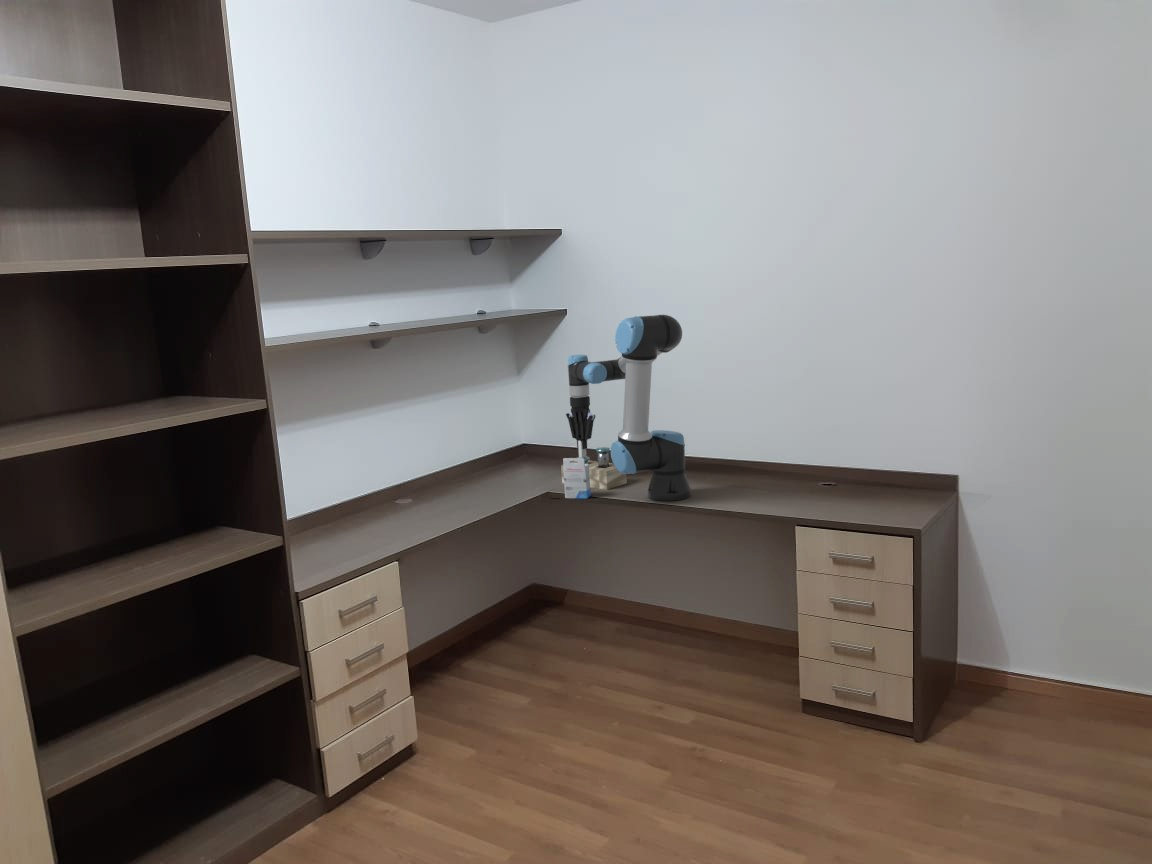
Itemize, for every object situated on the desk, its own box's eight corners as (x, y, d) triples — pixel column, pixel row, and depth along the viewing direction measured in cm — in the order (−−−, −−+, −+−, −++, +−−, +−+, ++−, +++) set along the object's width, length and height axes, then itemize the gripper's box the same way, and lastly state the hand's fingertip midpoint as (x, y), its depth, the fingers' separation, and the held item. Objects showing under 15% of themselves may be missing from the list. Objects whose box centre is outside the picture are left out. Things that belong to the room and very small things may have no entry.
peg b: (613, 468, 341) (612, 448, 340) (604, 471, 337) (603, 450, 336) (602, 467, 345) (601, 446, 343) (594, 469, 341) (593, 449, 339)
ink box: (591, 495, 327) (589, 455, 324) (587, 499, 322) (585, 458, 320) (569, 494, 330) (566, 455, 327) (564, 498, 325) (562, 458, 322)
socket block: (626, 483, 343) (626, 464, 341) (607, 489, 334) (606, 471, 332) (582, 476, 357) (581, 459, 356) (562, 483, 348) (561, 465, 347)
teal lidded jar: (593, 476, 348) (592, 457, 347) (584, 479, 345) (583, 459, 343) (583, 475, 352) (582, 455, 350) (574, 478, 348) (573, 458, 346)
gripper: (599, 395, 341) (602, 456, 345) (573, 393, 349) (576, 453, 354) (586, 398, 336) (589, 460, 340) (560, 396, 344) (563, 457, 348)
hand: (582, 456), depth 347 cm, fingers closed
